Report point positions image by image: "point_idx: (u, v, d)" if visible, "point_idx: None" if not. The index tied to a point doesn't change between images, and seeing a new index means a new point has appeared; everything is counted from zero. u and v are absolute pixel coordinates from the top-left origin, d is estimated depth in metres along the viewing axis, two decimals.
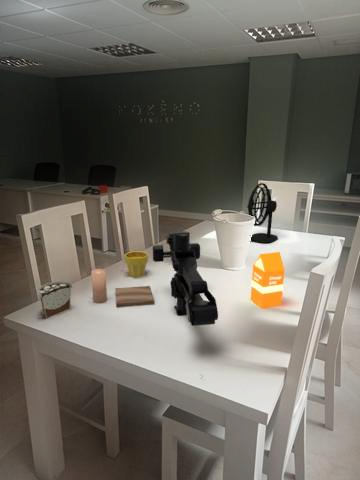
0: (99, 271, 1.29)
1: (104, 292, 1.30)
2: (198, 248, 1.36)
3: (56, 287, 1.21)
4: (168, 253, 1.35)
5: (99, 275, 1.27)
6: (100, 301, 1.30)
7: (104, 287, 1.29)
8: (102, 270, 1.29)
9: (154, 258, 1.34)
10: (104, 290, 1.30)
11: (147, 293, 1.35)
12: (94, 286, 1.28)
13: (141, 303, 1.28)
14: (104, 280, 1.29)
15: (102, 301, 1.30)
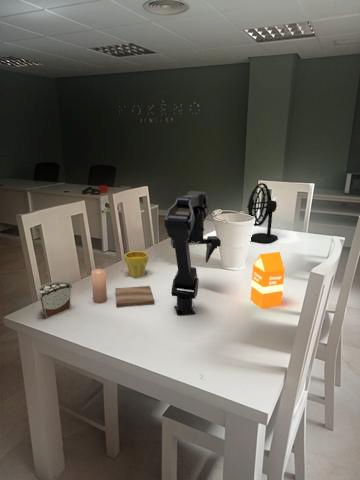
0: (99, 271, 1.29)
1: (104, 292, 1.30)
2: (215, 236, 1.36)
3: (56, 287, 1.21)
4: (187, 240, 1.33)
5: (99, 275, 1.27)
6: (100, 301, 1.30)
7: (104, 287, 1.29)
8: (102, 270, 1.29)
9: (173, 240, 1.30)
10: (104, 290, 1.30)
11: (147, 293, 1.35)
12: (94, 286, 1.28)
13: (141, 303, 1.28)
14: (104, 280, 1.29)
15: (102, 301, 1.30)
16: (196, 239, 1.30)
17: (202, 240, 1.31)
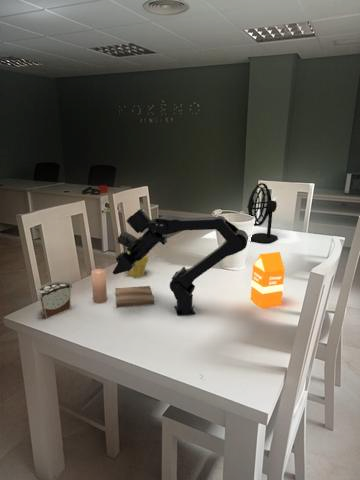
0: (99, 271, 1.29)
1: (104, 292, 1.30)
2: None
3: (56, 287, 1.21)
4: (131, 255, 1.20)
5: (99, 275, 1.27)
6: (100, 301, 1.30)
7: (104, 287, 1.29)
8: (102, 270, 1.29)
9: (129, 263, 1.15)
10: (104, 290, 1.30)
11: (147, 293, 1.35)
12: (94, 286, 1.28)
13: (141, 303, 1.28)
14: (104, 280, 1.29)
15: (102, 301, 1.30)
16: (142, 257, 1.23)
17: None
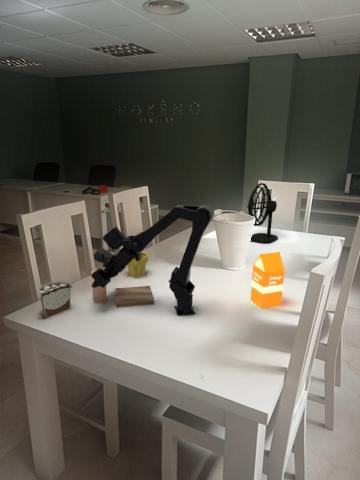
0: None
1: (104, 292, 1.30)
2: None
3: (56, 287, 1.21)
4: (107, 272, 1.24)
5: None
6: (100, 301, 1.30)
7: (104, 287, 1.29)
8: None
9: (104, 280, 1.19)
10: (104, 290, 1.30)
11: (147, 293, 1.35)
12: None
13: (141, 303, 1.28)
14: None
15: (102, 301, 1.30)
16: (118, 273, 1.27)
17: None
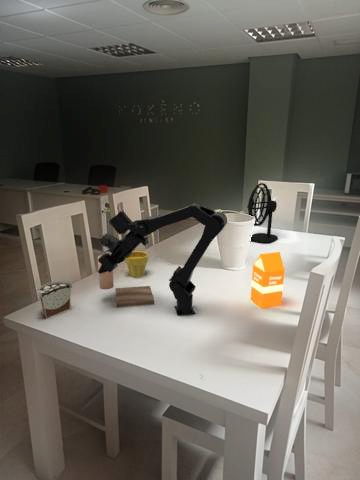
0: None
1: (111, 278, 1.29)
2: None
3: (56, 287, 1.21)
4: (114, 257, 1.23)
5: None
6: (107, 287, 1.28)
7: (111, 273, 1.28)
8: None
9: (111, 264, 1.18)
10: (111, 276, 1.28)
11: (147, 293, 1.35)
12: None
13: (141, 303, 1.28)
14: None
15: (109, 287, 1.29)
16: (124, 258, 1.26)
17: None
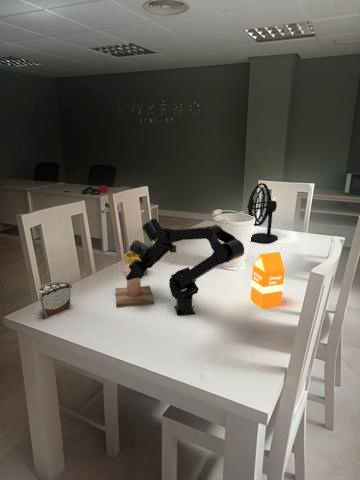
0: None
1: (139, 286, 1.32)
2: None
3: (56, 287, 1.21)
4: (143, 263, 1.26)
5: None
6: (135, 295, 1.32)
7: (139, 281, 1.31)
8: None
9: (142, 271, 1.21)
10: (139, 284, 1.32)
11: (147, 293, 1.35)
12: (129, 280, 1.30)
13: (141, 303, 1.28)
14: None
15: (137, 295, 1.32)
16: None
17: None
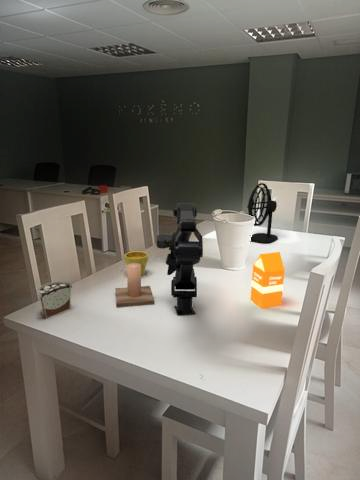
0: (134, 265, 1.31)
1: (139, 286, 1.32)
2: None
3: (56, 287, 1.21)
4: None
5: (135, 269, 1.29)
6: (135, 295, 1.32)
7: (139, 281, 1.31)
8: (137, 264, 1.32)
9: None
10: (139, 284, 1.32)
11: (147, 293, 1.35)
12: (129, 280, 1.30)
13: (141, 303, 1.28)
14: (139, 274, 1.31)
15: (137, 295, 1.32)
16: None
17: None
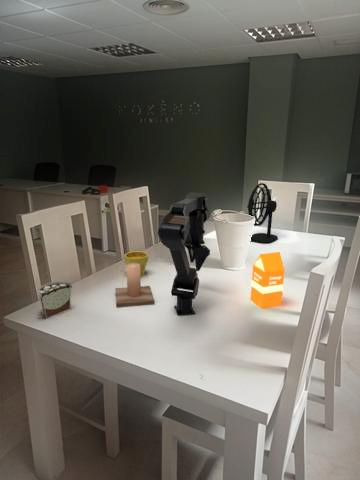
0: (133, 265, 1.31)
1: (139, 286, 1.32)
2: None
3: (56, 287, 1.21)
4: (197, 245, 1.26)
5: (134, 269, 1.29)
6: (135, 295, 1.32)
7: (139, 281, 1.31)
8: (136, 264, 1.32)
9: (205, 248, 1.21)
10: (139, 284, 1.32)
11: (147, 293, 1.35)
12: (129, 280, 1.30)
13: (141, 303, 1.28)
14: (139, 274, 1.31)
15: (137, 295, 1.32)
16: None
17: None
